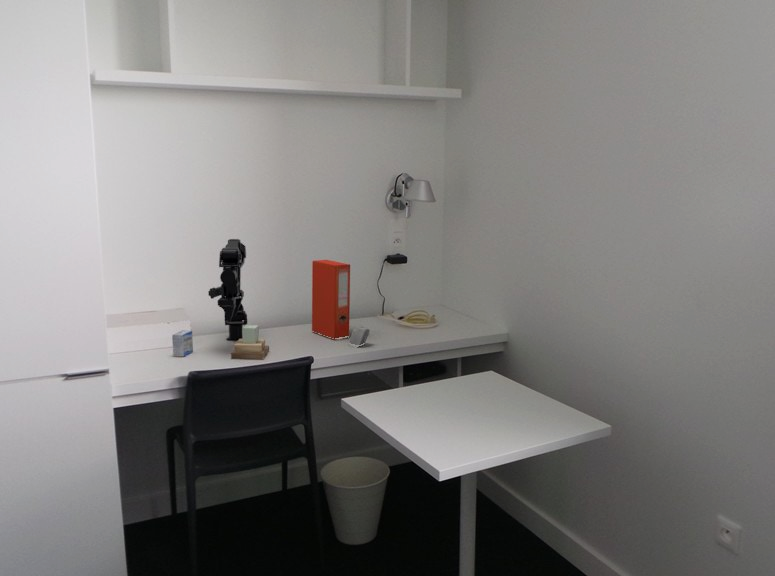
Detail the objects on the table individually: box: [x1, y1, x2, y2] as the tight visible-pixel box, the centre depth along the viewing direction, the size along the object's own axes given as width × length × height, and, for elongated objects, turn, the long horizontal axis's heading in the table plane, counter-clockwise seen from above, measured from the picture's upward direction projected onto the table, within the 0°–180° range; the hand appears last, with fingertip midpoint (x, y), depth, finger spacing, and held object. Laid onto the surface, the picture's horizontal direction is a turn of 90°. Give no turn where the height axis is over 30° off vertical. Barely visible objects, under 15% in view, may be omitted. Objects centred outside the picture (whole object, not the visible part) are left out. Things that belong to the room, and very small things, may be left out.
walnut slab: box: [230, 345, 270, 361], centre depth 266 cm, size 12×12×3 cm
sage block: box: [242, 324, 260, 344], centre depth 265 cm, size 5×5×6 cm
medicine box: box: [171, 329, 194, 358], centre depth 266 cm, size 8×4×9 cm, turn 168°
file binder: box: [311, 259, 351, 339], centre depth 297 cm, size 8×17×32 cm, turn 39°
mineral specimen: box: [348, 326, 371, 345], centre depth 283 cm, size 7×9×8 cm
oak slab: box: [233, 338, 266, 353], centre depth 266 cm, size 10×10×3 cm
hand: (231, 318), depth 273 cm, fingers open, 9 cm apart
